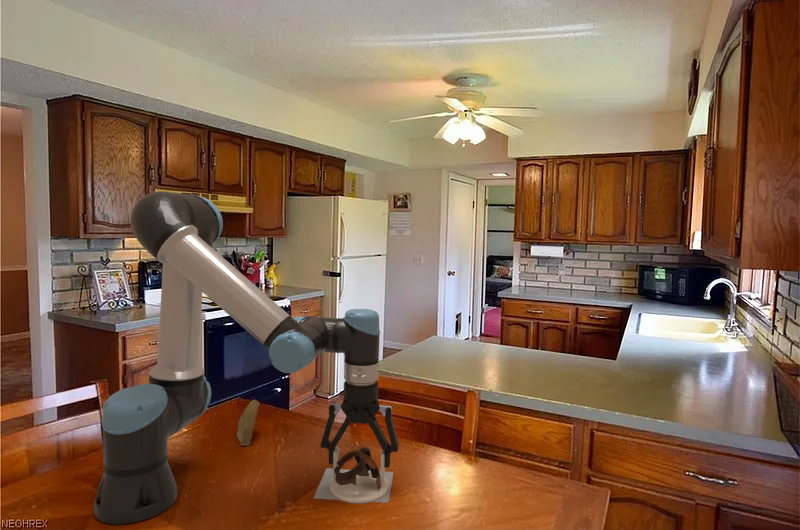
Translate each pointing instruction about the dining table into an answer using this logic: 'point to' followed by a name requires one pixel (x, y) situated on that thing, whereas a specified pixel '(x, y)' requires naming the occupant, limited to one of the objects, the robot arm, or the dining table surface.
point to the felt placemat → (325, 493)
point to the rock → (247, 423)
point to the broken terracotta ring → (357, 467)
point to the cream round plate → (359, 490)
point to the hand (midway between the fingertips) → (359, 479)
